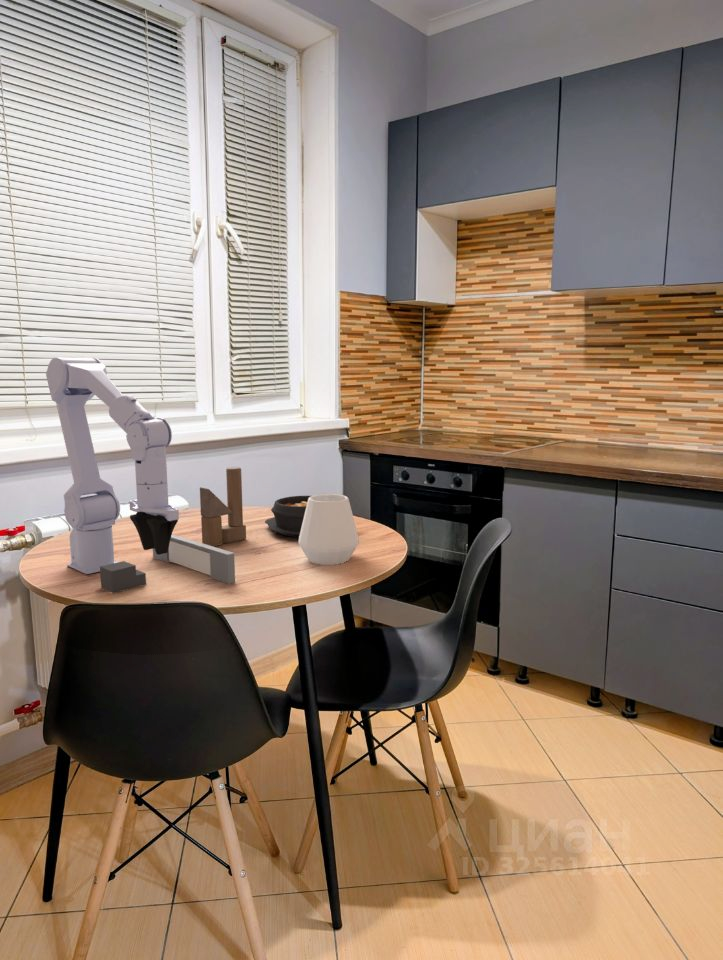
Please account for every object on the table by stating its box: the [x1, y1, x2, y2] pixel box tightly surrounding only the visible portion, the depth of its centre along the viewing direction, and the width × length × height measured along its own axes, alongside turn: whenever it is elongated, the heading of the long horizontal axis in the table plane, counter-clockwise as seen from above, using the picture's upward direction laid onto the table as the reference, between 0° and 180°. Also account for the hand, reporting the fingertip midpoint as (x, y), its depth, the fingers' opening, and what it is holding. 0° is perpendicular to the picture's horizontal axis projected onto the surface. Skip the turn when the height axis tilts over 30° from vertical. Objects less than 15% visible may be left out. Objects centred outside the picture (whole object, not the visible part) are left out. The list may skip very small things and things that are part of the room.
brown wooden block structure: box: [199, 466, 247, 547], centre depth 162 cm, size 4×11×18 cm, turn 138°
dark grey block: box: [99, 560, 147, 594], centre depth 131 cm, size 4×7×4 cm, turn 138°
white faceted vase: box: [297, 493, 360, 566], centre depth 148 cm, size 13×13×14 cm
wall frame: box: [152, 533, 236, 585], centre depth 142 cm, size 28×2×6 cm, turn 48°
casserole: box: [264, 495, 312, 538], centre depth 173 cm, size 25×19×8 cm
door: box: [169, 540, 211, 576], centre depth 142 cm, size 15×1×5 cm, turn 48°
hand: (155, 551), depth 131 cm, fingers open, 4 cm apart
